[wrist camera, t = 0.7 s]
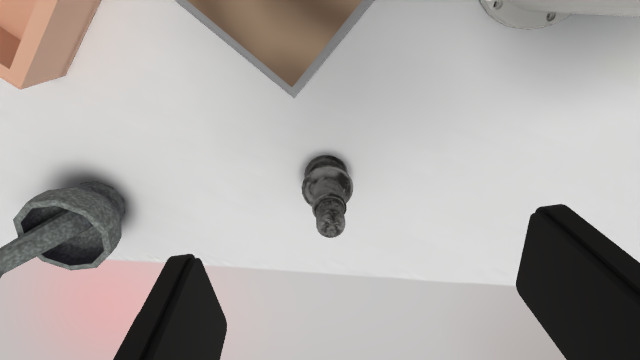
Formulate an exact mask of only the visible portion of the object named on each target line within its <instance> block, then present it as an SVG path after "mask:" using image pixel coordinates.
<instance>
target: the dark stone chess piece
mask: <svg viewBox="0 0 640 360" xmlns="http://www.w3.org/2000/svg"><path fill="white" fill-rule="evenodd" d="M352 192H353V184H352V180H351V178H350V177H349V175H348V174H347V169H346V166H345V165H344V163H343V162H342V161H341V160H339V159H338V158H336V157H333V156H320V157H317V158H315V159H314V160H312V161H311V162H310V163H309V164H308V166H307V168H306V171H305V179H304V181H303V185H302V194H303V197H304V199H305V200H306V202H307V203H308V204H309V205H311V206H312V211H313V214H314V216H315V217H316V225H317V229H318V232H319V233H320V234H321V235H323V236H325V237H329V238H333V237H336V236H338V235H340V234H341V233H342V232H343V230H344V228H345V218H344V214H345V212H346V203H347V202H348V201H349V199H350V198H351V196H352Z"/></svg>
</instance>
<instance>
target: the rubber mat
mask: <svg viewBox="0 0 640 360" xmlns="http://www.w3.org/2000/svg"><path fill="white" fill-rule="evenodd" d="M175 1H176V2H177V3H179V4H180V5H181V6H182V7H183V8H185V9H186V10H187V11H188V12H189V13H191V14H192V15H193V16H194V17H196V18H197V19H198V20H199V21H200V22H202V23H203V24H204V25H205V26H207V27H208V28H209V29H210V30H211V31H213V32H214V33H215V34H216V35H218V36H219V37H220V38H221V39H222V40H224V41H225V42H226V43H227V44H229V45H230V46H231V47H232V48H233V49H235V50H236V51H237V52H238V53H240V54H241V55H242V56H243V57H244V58H246V59H247V60H248V61H249V62H251V63H252V64H253V65H254V66H255V67H257V68H258V69H259V70H260V71H262V72H263V73H264V74H265V75H266V76H268V77H269V78H270V79H271V80H272V81H274V82H275V83H276V84H277V85H279V86H280V87H281V88H282V89H283V90H285V91H286V92H287V93H288V94H290V95H291V96H292V97H293V98H295V97H296V95H297V94H298V93H299V92H300V90H301V89H302V88H303V87H304V86H305V84H306V83H307V82H308V81H309V79H310V78H311V77H312V76H313V75H314V73H315V72H316V71H317V70H318V68H319V67H320V66H321V65H322V64H323V62H324V61H325V60H326V59H327V57H328V56H329V55H330V54H331V53H332V51H333V50H334V49H335V48H336V46H337V45H338V44H339V43H340V42H341V40H342V39H343V38H344V37H345V35H346V34H347V33H348V32H349V31H350V29H351V28H352V27H353V26H354V24H355V23H356V22H357V21H358V20H359V18H360V17H361V16H362V15H363V13H364V12H365V11H366V10H367V9H368V7H369V6H370V5H371V4H372V2H373V1H374V0H362V1H361V2H360V4H359V5H358V6H357V7H356V9H355V10H354V11H353V12H352V14H351V15H350V16H349V17H348V19H347V20H346V21H345V22H344V24H343V25H342V26H341V27H340V29H339V30H338V31H337V32H336V34H335V35H334V36H333V37H332V39H331V40H330V41H329V42H328V44H327V45H326V46H325V47H324V49H323V50H322V51H321V52H320V54H319V55H318V56H317V57H316V58H315V60H314V61H313V62H312V63H311V65H310V66H309V67H308V68H307V70H306V71H305V72H304V73H303V75H302V76H301V77H300V78H299V80H298V81H297V82H296V83H295V85H294V86H293V87H291V86H289V85H288V84H287V83H286V82H285V81H283V80H282V79H281V78H280V77H279V76H277V75H276V74H275V73H274V72H273V71H271V70H270V69H269V68H268V67H267V66H265V65H264V64H263V63H262V62H261V61H259V60H258V59H257V58H256V57H255V56H253V55H252V54H251V53H250V52H249V51H247V50H246V49H245V48H244V47H242V46H241V45H240V44H239V43H238V42H236V41H235V40H234V39H233V38H232V37H230V36H229V35H228V34H227V33H226V32H224V31H223V30H222V29H221V28H220V27H218V26H217V25H216V24H215V23H214V22H212V21H211V20H210V19H209V18H208V17H206V16H205V15H204V14H203V13H202V12H200V11H199V10H198V9H197V8H196V7H194V6H193V5H192V4H191V3H190V2H188V1H187V0H175Z"/></svg>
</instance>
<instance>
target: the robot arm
mask: <svg viewBox="0 0 640 360" xmlns="http://www.w3.org/2000/svg"><path fill="white" fill-rule="evenodd" d="M480 1H481V4H482V5H483V7H484V8H485V9H486V11H487V12H488V14H489V15H491V16H492V17H493V18H494V19H495V20H496V21H498V22H500V23H502V24H504V25H506V26H510V27H514V28H521V29H534V28H542V27H545V26H549V25H552V24H554V23H556V22H558V21H560V20H562V19H564V18H566V17H568V16H569V15H571V14H572V13H574V14H593V15H611V16H630V17H640V0H480ZM494 2H496V5H495V6H494V7H493V5H494ZM516 287H517V291H518V293H519V295H520V296H521V297H522V299H523V300H524V302H525V303H526V305H527V306H528V307H529V309H530V310H531V311H532V313H533V314H534V315H535V317H536V318H537V320H538V321H539V322H540V324H541V325H542V327H543V328H544V329H545V331H546V332H547V333H548V334H549V336H550V337H551V339H552V340H553V342H554V343H555V344H556V346H557V347H558V348H559V350H560V351H561V353H562V354H563V355H564V357H565V358H566V359H567V360H640V263H639V262H638V261H637V260H635V259H634V258H633V257H631V256H630V255H629V254H628V253H626V252H625V251H624V250H622V249H621V248H620V247H619V246H617V245H616V244H615V243H614V242H612V241H611V240H610V239H608V238H607V237H606V236H605V235H603V234H602V233H601V232H599V231H598V230H597V229H596V228H594V227H593V226H592V225H590V224H589V223H588V222H587V221H585V220H584V219H583V218H582V217H580V216H579V215H578V214H576V213H575V212H574V211H573V210H571V209H570V208H569V207H567V206H566V205H562V204H559V205H551V206H544V207H539V208H538V209H537V210H536V212H535V213H533V214H532V215H531V217H530V220H529V225H528V229H527V234H526V239H525V243H524V248H523V252H522V257H521V262H520V266H519V271H518V275H517V280H516ZM226 331H227V322H226V318H225V316H224V313H223V311H222V309H221V306H220V304H219V302H218V299H217V297H216V295H215V292H214V290H213V287H212V285H211V283H210V280H209V278H208V275H207V273H206V271H205V268H204V266H203V264H202V261H201V260H200V259H199V258H195V257H194V255H192V254H186V255H178V256H171V257H170V258H169V259H168V260H167V262H166V264H165V266H164V268H163V269H162V271H161V273H160V275H159V277H158V279H157V281H156V283H155V285H154V286H153V288H152V290H151V292H150V294H149V296H148V298H147V299H146V301H145V303H144V305H143V307H142V309H141V311H140V312H139V314H138V315H137V317H136V318H135V320H134V322H133V324H132V326H131V327H130V329H129V331H128V333H127V335H126V337H125V339H124V341H123V342H122V344H121V346H120V348H119V350H118V352H117V354H116V355H115V357H114V359H113V360H220V356H221V352H222V348H223V344H224V340H225V335H226Z"/></svg>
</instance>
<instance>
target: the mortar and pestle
mask: <svg viewBox="0 0 640 360" xmlns="http://www.w3.org/2000/svg"><path fill="white" fill-rule="evenodd" d="M124 213H125V209H124V200H123V199H122V198H121V197H120V196H119V195H118V193H117V192H116V191H115V190H114V189H113V188H111V187H109V186H106V185H103V184H101V183H98V182H89V183H81V184H80V185H79V186H78V187H75V188H66V189H57V190H48V191H46V192H44V193H42V194H39V195H37V196H35V197H34V198H33V199H31V200H30V201H28V202H27V203H26V204H25V205H24V207H23V208H22V209H21V210H20V212H19V213H18V214H17V215H16V217H15V218H14V219H13V221H14V225H15V228H16V231H17V234H18V238H16V239H15V240H13V241H11V242H10V243H8V244H6V245H5V246H3V247H1V248H0V278H1V276H2V275H3V274H4V273H6V272H7V271H10V270H12V269H14V268H15V267H17V266H19V265H21V264H23V263H25V262H27V261H29V260H31V259H33V258H34V257H36V256H37V257H38V258H39V259H40V260H42V261H44V262H47V263H50V264H53V265H56V266H59V267H63V268H66V269H69V270H79V269H88V268H97V267H98V266H99V265H100V264H101V263H102V262H103V261H104V260H105V259H106V258H107V257H108V256H109V255H110V254H111V253H112V251H113V250H114V249H115V248H116V246H117V245H118V243H119V241H120V239H121V221H120V217H121V216H122V215H123V214H124Z"/></svg>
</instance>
